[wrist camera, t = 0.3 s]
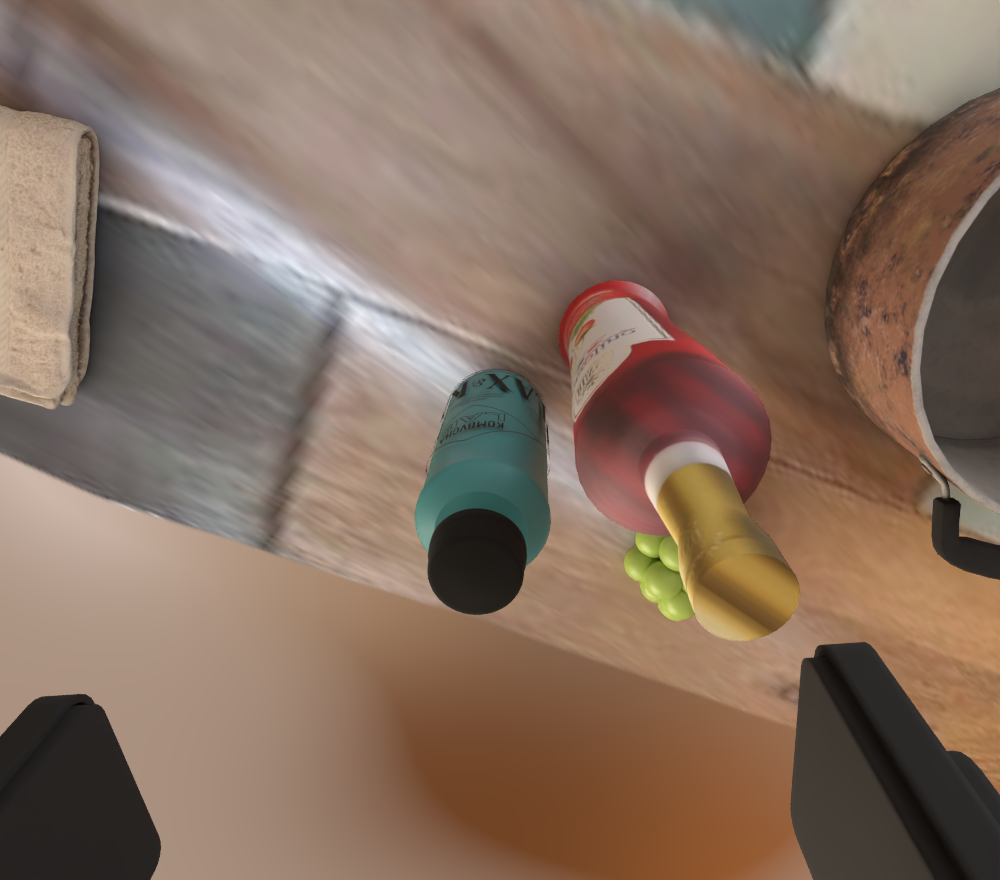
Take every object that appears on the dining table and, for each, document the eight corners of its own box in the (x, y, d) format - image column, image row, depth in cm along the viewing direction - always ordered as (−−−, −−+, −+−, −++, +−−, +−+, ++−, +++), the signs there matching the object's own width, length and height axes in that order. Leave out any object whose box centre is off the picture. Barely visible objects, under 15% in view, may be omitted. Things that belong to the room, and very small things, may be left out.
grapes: (615, 470, 47) (624, 500, 43) (718, 458, 46) (737, 488, 42) (626, 610, 51) (635, 650, 47) (720, 601, 51) (738, 641, 46)
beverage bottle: (564, 418, 45) (592, 599, 27) (482, 467, 47) (456, 669, 28) (510, 338, 43) (501, 475, 25) (427, 392, 45) (360, 558, 26)
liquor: (619, 408, 45) (750, 749, 19) (531, 344, 43) (543, 621, 18) (694, 319, 42) (960, 573, 17) (603, 248, 41) (740, 408, 15)
